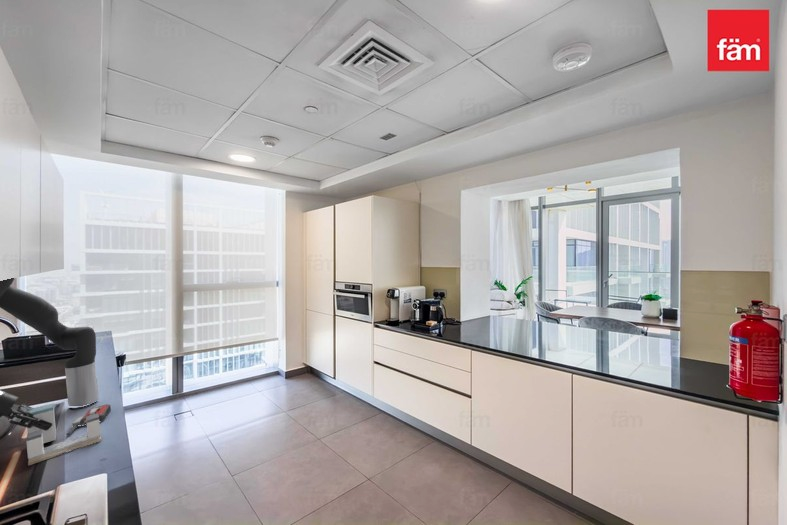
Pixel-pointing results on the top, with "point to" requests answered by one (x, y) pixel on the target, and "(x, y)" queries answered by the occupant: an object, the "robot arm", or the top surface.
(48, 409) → the block
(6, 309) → the robot arm
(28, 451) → the mounted modules
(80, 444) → the wood panel
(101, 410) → the walkie-talkie
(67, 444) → the rail
